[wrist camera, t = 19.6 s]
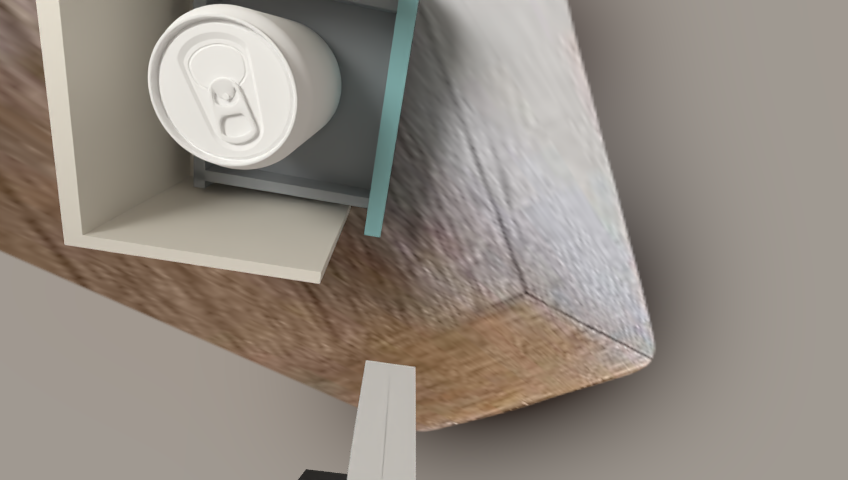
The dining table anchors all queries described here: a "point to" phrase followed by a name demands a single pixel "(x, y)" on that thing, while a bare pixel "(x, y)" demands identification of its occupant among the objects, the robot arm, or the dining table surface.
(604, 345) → the dining table surface
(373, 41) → the teal drawer
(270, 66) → the beverage can
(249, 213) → the white drawer cabinet
